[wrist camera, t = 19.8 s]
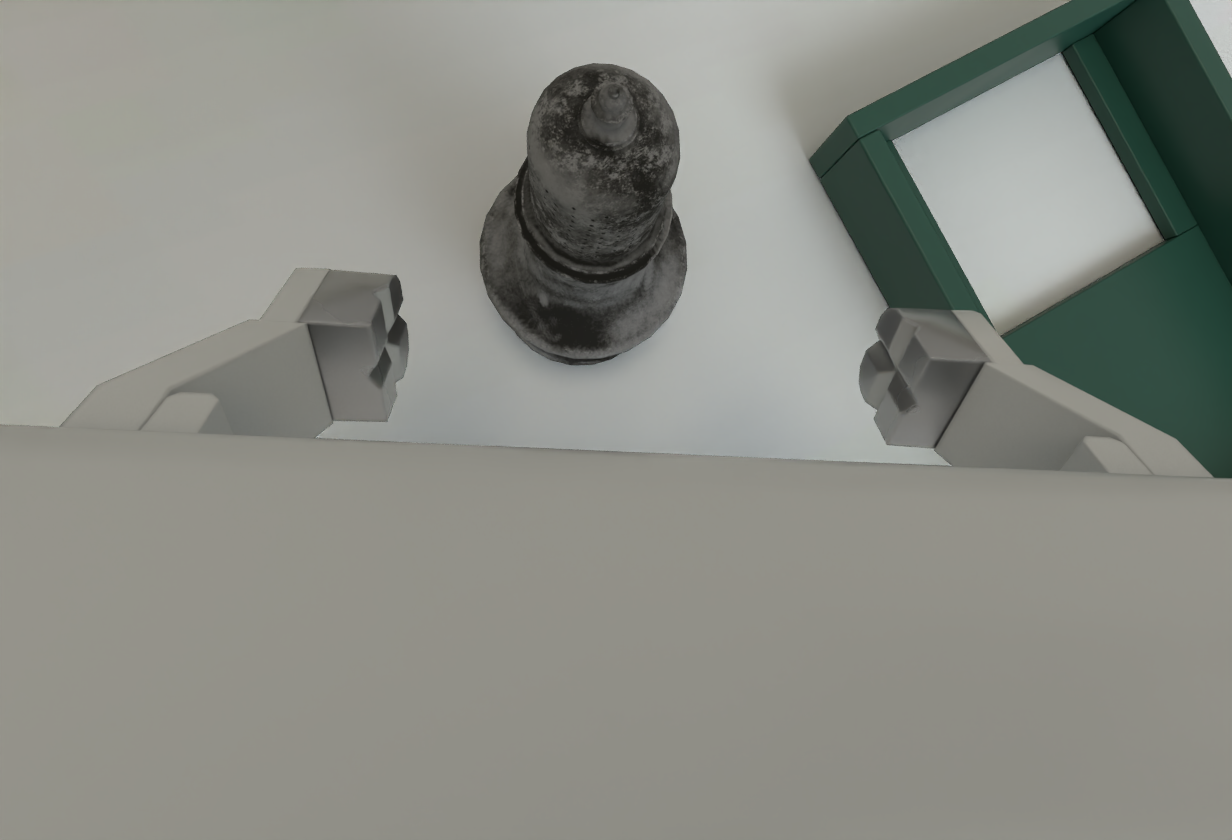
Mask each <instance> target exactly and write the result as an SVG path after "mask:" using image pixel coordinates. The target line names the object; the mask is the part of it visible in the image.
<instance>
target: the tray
mask: <svg viewBox="0 0 1232 840" xmlns="http://www.w3.org/2000/svg"><path fill="white" fill-rule="evenodd" d="M1063 50H1064V51H1063ZM1062 51H1063V54H1064V56H1065V58H1066V60H1067V62H1068V64H1069V65H1070V67H1071V69H1072V71H1073V73H1074V74H1075V76H1076V78H1077V80H1078V82H1079V84H1080V85H1081V87H1082V89H1083V91H1084V93H1085V95H1086V96H1087V98H1088V100H1089V102H1090V104H1091V105H1092V107H1093V109H1094V111H1095V113H1096V115H1097V116H1098V118H1099V120H1100V122H1101V124H1102V126H1103V127H1104V129H1105V131H1106V133H1107V135H1108V136H1109V138H1110V140H1111V142H1112V144H1113V146H1114V147H1115V149H1116V151H1117V153H1118V155H1119V157H1120V158H1121V160H1122V162H1123V164H1124V166H1125V168H1126V169H1127V171H1128V173H1129V175H1130V177H1131V178H1132V180H1133V182H1134V184H1135V186H1136V188H1137V189H1138V191H1139V193H1140V195H1141V197H1142V199H1143V200H1144V202H1145V204H1146V206H1147V208H1148V209H1149V211H1150V213H1151V215H1152V217H1153V219H1154V220H1155V222H1156V224H1157V226H1158V228H1159V230H1160V231H1161V233H1162V235H1163V237H1164V239H1165V240H1166V241H1164V242H1162V243H1161V244H1159V245H1157V246H1155V247H1154V248H1152V249H1150V250H1149V251H1147V252H1145V253H1143V254H1142V255H1140V256H1138V257H1137V258H1135V259H1133V260H1131V261H1130V262H1128V263H1126V264H1124V265H1123V266H1121V267H1119V268H1118V269H1116V270H1114V271H1112V272H1111V273H1109V274H1107V275H1106V276H1104V277H1102V278H1100V279H1099V280H1097V281H1095V282H1093V283H1092V284H1090V285H1088V286H1087V287H1085V288H1083V289H1081V290H1080V291H1078V292H1076V293H1074V294H1073V295H1071V296H1069V297H1068V298H1066V299H1064V300H1062V301H1061V302H1059V303H1057V304H1056V305H1054V306H1052V307H1050V308H1049V309H1047V310H1045V311H1043V312H1042V313H1040V314H1038V315H1037V316H1035V317H1033V318H1031V319H1030V320H1028V321H1026V322H1024V323H1023V324H1021V325H1019V326H1018V327H1016V328H1014V329H1012V330H1011V331H1009V332H1007V333H1006V334H1004V335H1002V336H1000V337H1001V338H1002V339H1003V340H1004V341H1005V343H1006V344H1007V345H1008V346H1009V347H1010V348H1011V350H1012V351H1013V352H1014V353H1015V354H1016V356H1017V357H1018V358H1019V359H1020V360H1021V361H1022V363H1023V364H1024V365H1034V366H1035V367H1037V368H1039V369H1041V370H1043V371H1045V372H1047V373H1049V374H1051V375H1053V376H1055V377H1057V378H1059V379H1061V380H1063V381H1065V382H1067V383H1068V384H1070V385H1072V386H1074V387H1076V388H1078V389H1080V390H1082V391H1084V392H1086V393H1088V394H1090V395H1092V396H1094V397H1096V398H1098V399H1100V400H1101V401H1103V402H1105V403H1107V404H1109V405H1111V406H1113V407H1115V408H1117V409H1119V410H1121V411H1123V412H1125V413H1127V414H1129V415H1131V416H1133V417H1134V418H1136V419H1138V420H1140V421H1142V422H1144V423H1146V424H1148V425H1150V426H1152V427H1154V428H1156V429H1158V430H1160V431H1162V432H1164V433H1166V434H1167V435H1169V436H1171V437H1173V438H1175V439H1177V440H1178V441H1179V442H1180V443H1181V444H1182V445H1183V446H1184V447H1185V448H1186V449H1187V450H1188V452H1189V453H1190V454H1191V455H1192V456H1193V457H1194V458H1195V459H1196V460H1197V461H1198V462H1199V463H1200V464H1201V465H1202V466H1203V467H1204V468H1205V469H1206V470H1207V471H1208V472H1209V473H1210V474H1211V475H1212V476H1213V477H1214V478H1232V78H1231V76H1230V74H1229V73H1228V71H1227V69H1226V67H1225V65H1224V63H1223V62H1222V60H1221V58H1220V56H1219V54H1218V52H1217V51H1216V49H1215V47H1214V45H1213V43H1212V41H1211V40H1210V38H1209V36H1208V34H1207V32H1206V31H1205V29H1204V27H1203V25H1202V23H1201V21H1200V20H1199V18H1198V16H1197V14H1196V12H1195V10H1194V9H1193V7H1192V5H1191V3H1190V1H1189V0H1071V1H1069V2H1067V3H1065V4H1064V5H1062V6H1060V7H1058V8H1056V9H1054V10H1052V11H1050V12H1048V13H1046V14H1044V15H1042V16H1040V17H1038V18H1036V19H1034V20H1032V21H1031V22H1029V23H1027V24H1025V25H1023V26H1021V27H1019V28H1017V29H1015V30H1013V31H1011V32H1009V33H1007V34H1005V35H1003V36H1001V37H999V38H998V39H996V40H994V41H992V42H990V43H988V44H986V45H984V46H982V47H980V48H978V49H976V50H974V51H972V52H970V53H968V54H966V55H965V56H963V57H961V58H959V59H957V60H955V61H953V62H951V63H949V64H947V65H945V66H943V67H941V68H939V69H937V70H935V71H933V72H932V73H930V74H928V75H926V76H924V77H922V78H920V79H918V80H916V81H914V82H912V83H910V84H908V85H906V86H904V87H902V88H900V89H899V90H897V91H895V92H893V93H891V94H889V95H887V96H885V97H883V98H881V99H879V100H877V101H875V102H873V103H871V104H869V105H867V106H866V107H864V108H862V109H860V110H858V111H856V112H854V113H852V114H850V115H848V116H847V117H846V118H845V119H844V120H843V121H842V122H841V124H840V125H839V126H838V127H837V128H836V129H835V130H834V132H833V133H832V134H831V135H830V136H829V137H828V138H827V139H826V141H825V142H824V143H823V144H822V145H821V146H820V147H819V149H818V150H817V151H816V152H815V153H814V154H813V155H812V157H811V158H810V159H809V161H810V163H811V165H812V166H813V168H814V170H815V172H816V174H817V176H818V177H819V178H821V183H822V184H823V186H824V188H825V190H826V192H827V193H828V195H829V197H830V199H831V201H832V203H833V204H834V206H835V208H836V210H837V212H838V213H839V215H840V217H841V219H842V221H843V223H844V224H845V226H846V228H847V230H848V232H849V233H850V235H851V237H852V239H853V241H854V243H855V244H856V246H857V248H858V250H859V252H860V253H861V255H862V257H863V259H864V261H865V263H866V264H867V266H868V268H869V270H870V272H871V273H872V275H873V277H874V279H875V281H876V283H877V284H878V286H879V288H880V290H881V292H882V293H883V295H884V297H885V299H886V301H887V303H888V304H889V306H890V308H914V309H939V310H968V311H975V312H978V313H981V314H982V315H983V316H984V318H985V319H986V320H987V321H988V322H989V324H990V325H991V326H992V327H993V328H994V326H993V325H992V323H991V321H990V319H989V317H988V315H987V314H986V312H985V310H984V308H983V306H982V305H981V303H980V301H979V299H978V297H977V295H976V294H975V292H974V290H973V288H972V286H971V285H970V283H969V281H968V279H967V277H966V275H965V274H964V272H963V270H962V268H961V266H960V265H959V263H958V261H957V259H956V257H955V255H954V254H953V252H952V250H951V248H950V246H949V245H948V243H947V241H946V239H945V237H944V235H943V234H942V232H941V230H940V228H939V226H938V224H937V223H936V221H935V219H934V217H933V215H932V214H931V212H930V210H929V208H928V206H927V204H926V203H925V201H924V199H923V197H922V195H921V194H920V192H919V190H918V188H917V186H916V184H915V183H914V181H913V179H912V177H911V175H910V174H909V172H908V170H907V168H906V166H905V164H904V163H903V161H902V159H901V157H900V155H899V154H898V152H897V150H896V148H895V146H894V144H893V143H892V140H894V139H896V138H898V137H900V136H902V135H904V134H906V133H907V132H909V131H911V130H913V129H915V128H917V127H919V126H921V125H923V124H925V123H926V122H928V121H930V120H932V119H934V118H936V117H938V116H940V115H942V114H944V113H945V112H947V111H949V110H951V109H953V108H955V107H957V106H959V105H961V104H963V103H965V102H966V101H968V100H970V99H972V98H974V97H976V96H978V95H980V94H982V93H984V92H985V91H987V90H989V89H991V88H993V87H995V86H997V85H999V84H1001V83H1003V82H1004V81H1006V80H1008V79H1010V78H1012V77H1014V76H1016V75H1018V74H1020V73H1022V72H1024V71H1025V70H1027V69H1029V68H1031V67H1033V66H1035V65H1037V64H1039V63H1041V62H1043V61H1044V60H1046V59H1048V58H1050V57H1052V56H1054V55H1056V54H1058V53H1060V52H1062ZM994 329H995V328H994ZM995 331H996V330H995Z"/></svg>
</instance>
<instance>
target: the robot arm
mask: <svg viewBox="0 0 1232 840" xmlns="http://www.w3.org/2000/svg"><path fill="white" fill-rule="evenodd" d="M402 302H403V296H402V290H401V284H400V281H399V279H398V277H397V275H390V274H378V273H366V272H354V271H342V270H331V269H319V268H296V269H295V270H294V271H293V273H292V274H291V275H290V277H289V278H288V280H287V281H286V283H285V284H284V285H283V287H282V288H281V290H280V291H279V293H278V294H277V295H276V297H275V298H274V300H273V301H272V303H271V304H270V305H269V307H268V308H267V310H266V311H265V313H264V314H263V315H262V317H261V318H260V320H247V321H245V322H242V323H240V324H238V325H235V326H233V327H231V328H228V329H226V330H224V331H222V332H219V333H217V334H215V335H212V336H210V337H208V338H205V339H203V340H201V341H198V342H196V343H194V344H191V345H189V346H187V347H185V348H182V349H180V350H178V351H175V352H173V353H171V354H168V355H166V356H164V357H161V358H159V359H157V360H154V361H152V362H150V363H148V364H145V365H143V366H141V367H138V368H136V369H134V370H131V371H129V372H127V373H124V374H122V375H120V376H117V377H115V378H113V379H111V380H108V381H106V382H104V383H101V384H99V385H97V386H96V387H95V388H94V389H93V390H92V391H91V392H90V394H89V395H88V396H87V397H86V398H85V399H84V400H83V401H82V402H81V403H80V404H79V406H78V407H77V408H76V409H75V410H74V411H73V412H72V413H71V414H70V415H69V417H68V418H67V419H66V420H65V421H64V422H63V423H62V424H61V425H60V426H59V427H48V426H25V425H2V424H0V840H1232V478H1214V477H1213V476H1212V475H1211V474H1210V473H1209V472H1208V471H1207V470H1206V469H1205V468H1204V467H1203V466H1202V465H1201V464H1200V463H1199V462H1198V461H1197V460H1196V459H1195V458H1194V457H1193V456H1192V455H1191V454H1190V453H1189V452H1188V450H1187V449H1186V448H1185V447H1184V446H1183V445H1182V444H1181V443H1180V442H1179V441H1178V440H1177V439H1175V438H1173V437H1171V436H1169V435H1167V434H1166V433H1164V432H1162V431H1160V430H1158V429H1156V428H1154V427H1152V426H1150V425H1148V424H1146V423H1144V422H1142V421H1140V420H1138V419H1136V418H1134V417H1133V416H1131V415H1129V414H1127V413H1125V412H1123V411H1121V410H1119V409H1117V408H1115V407H1113V406H1111V405H1109V404H1107V403H1105V402H1103V401H1101V400H1100V399H1098V398H1096V397H1094V396H1092V395H1090V394H1088V393H1086V392H1084V391H1082V390H1080V389H1078V388H1076V387H1074V386H1072V385H1070V384H1068V383H1067V382H1065V381H1063V380H1061V379H1059V378H1057V377H1055V376H1053V375H1051V374H1049V373H1047V372H1045V371H1043V370H1041V369H1039V368H1037V367H1035V366H1034V365H1024V364H1023V363H1022V361H1021V360H1020V359H1019V358H1018V357H1017V356H1016V354H1015V353H1014V352H1013V351H1012V350H1011V348H1010V347H1009V346H1008V345H1007V344H1006V343H1005V341H1004V340H1003V339H1002V338H1001V337H1000V335H999V334H998V333H997V332H996V331H995V329H994V328H993V327H992V326H991V325H990V324H989V322H988V321H987V320H986V319H985V318H984V316H983V315H982V314H981V313H978V312H975V311H968V310H939V309H914V308H887V309H886V311H885V312H884V313H883V314H882V316H881V317H880V319H879V322H878V324H877V326H876V328H875V330H876V332H877V335H878V338H879V341H878V342H876V343H875V344H874V345H873V346H871V347H870V348H869V349H867V350H866V352H865V355H864V358H863V360H862V363H861V366H860V374H859V385H860V391H861V394H862V396H863V398H864V400H865V402H866V403H868V404H869V405H871V406H872V407H873V408H875V409H876V410H877V413H876V415H875V417H874V420H875V422H876V424H877V426H878V428H879V430H880V432H881V434H882V436H883V438H884V440H885V442H886V444H887V445H895V446H909V447H922V448H935V449H934V451H935V452H937V453H938V454H939V455H940V456H941V457H942V458H944V459H945V460H946V461H947V462H948V463H949V464H951V465H952V466H939V465H916V464H893V463H870V462H847V461H824V460H801V459H778V458H755V457H732V456H709V455H687V454H664V453H641V452H618V451H595V450H572V449H549V448H527V447H504V446H481V445H458V444H435V443H412V442H389V441H367V440H344V439H321V438H315V437H316V436H318V435H319V434H320V433H321V432H323V431H324V430H325V429H326V428H328V427H329V426H330V425H331V424H333V421H374V422H388V419H389V417H390V414H391V411H392V408H393V405H394V403H395V400H396V397H397V391H396V385H395V383H396V382H397V381H399V380H400V379H402V378H403V377H404V374H405V370H406V367H407V361H408V352H409V342H408V330H407V323H406V322H405V321H404V320H403V319H402V318H401V317H400V316H399V315H398V312H399V310H400V307H401V304H402Z"/></svg>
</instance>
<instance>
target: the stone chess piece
mask: <svg viewBox="0 0 1232 840" xmlns="http://www.w3.org/2000/svg"><path fill="white" fill-rule="evenodd" d="M527 154H528V156H527V158H526V159H525V161H524V163H523V165H522V166H521V168H520V170H519V172H518V175H517V176H516V177H515V178H514V179H513V180H512V181H511V182H510V183H509V184H508V185H507V186H506V187H505V188H504V189H503V190H502V191H501V192H500V193H499V195H498V197H497V198H496V200H495V202H494V203H493V205H492V207H491V209H490V210H489V212H488V214H487V216H486V219H485V223H484V227H483V231H482V235H481V239H480V270H481V273H482V276H483V280H484V283H485V287H486V290H487V293H488V296H489V298H490V300H491V301H492V303H493V304H494V306H495V308H496V309H497V311H498V313H499V314H500V316H501V318H502V319H503V320H504V321H505V322H506V323H507V324H508V325H509V326H510V327H511V328H512V329H513V330H514V331H515V332H516V334H517V336H519V337H520V338H521V339H522V340H523V341H524V342H525V343H526V344H527V345H528V346H529V347H530V348H531V349H532V350H534V351H536V352H537V353H539V354H541V355H543V356H545V357H546V358H548V359H550V360H553V361H557V362H561V363H565V364H569V365H592V364H596V363H599V362H603V361H606V360H610V359H612V358H614V357H616V356H617V355H619V354H621V353H622V352H626V351H628V350H630V349H631V348H633V347H635V346H636V345H638V344H640V343H641V342H643V341H645V340H646V339H648V338H650V337H651V336H652V335H653V334H654V332H655V331H656V330H657V329H658V328H659V327H660V326H661V325H662V324H663V323H664V322H665V321H666V320H667V319H668V318H669V316H670V314H671V312H672V310H673V309H674V307H675V305H676V303H677V301H678V299H679V297H680V296H681V293H682V288H683V284H684V280H685V275H686V271H687V254H686V240H685V237H684V234H683V231H682V227H681V224H680V221H679V217H678V216H677V214H676V212H675V211H674V209H673V207H672V194H671V190H670V189H671V187H672V184H673V182H674V180H675V178H676V174H677V169H678V165H679V160H680V144H679V129H678V126H677V123H676V120H675V116H674V113H673V111H672V109H671V107H670V106H669V104H668V102H667V101H666V99H665V97H664V96H663V94H662V93H661V92H660V91H659V90H658V89H657V88H656V87H655V86H654V85H653V84H652V83H651V82H650V81H649V80H647V79H645V78H644V77H642V76H640V75H639V74H637V73H635V72H634V71H632V70H630V69H626V68H623V67H620V66H617V65H613V64H595V63H593V64H588V65H584V66H579V67H575V68H573V69H571V70H569V71H567V72H565V73H563V74H562V75H560V76H558V77H557V78H556V79H555V80H554V81H553V82H552V83H551V84H550V85H548V86H547V87H546V88H545V89H544V91H543V93H542V94H541V96H540V98H539V100H538V101H537V103H536V105H535V107H534V109H533V112H532V114H531V118H530V122H529V126H528V131H527Z"/></svg>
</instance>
